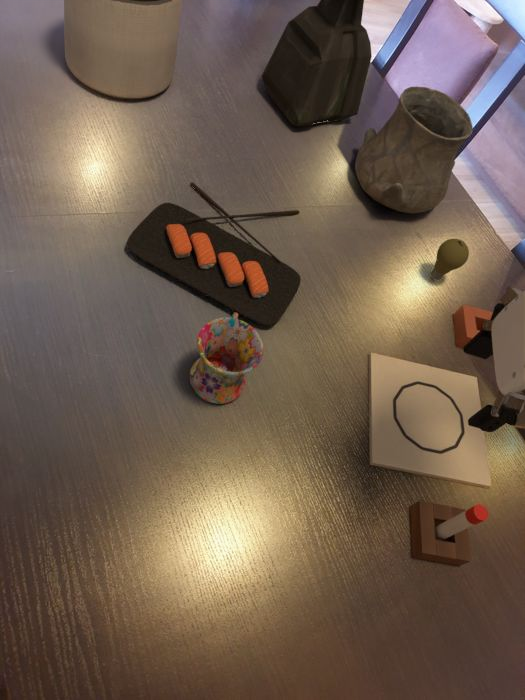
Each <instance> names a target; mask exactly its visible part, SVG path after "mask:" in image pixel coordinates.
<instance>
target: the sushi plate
mask: <svg viewBox="0 0 525 700" xmlns="http://www.w3.org/2000/svg"><path fill="white" fill-rule="evenodd" d="M189 184H191V185H190V187H191V186H193V187H194V188H195V189H194V188H193V187H192V188H193V189H194V190H195V191H196V190H197V191H198V192H197V191H196V192H197V193H198V194H199V193H200V196H201V197H203V198H204V199H205V200H206V201H207V202H208V203H210V205H212V206H213V207H215V209H217V210H218V211H219V212H220V213H221V214H222V215H221V216H206V217H201V216H199V215H198V214H196V213H194V212H193V211H190V210H188V209H186V208H184V207H183V206H180V205H179V204H175V203H173V202H163V203H161V204H159V205H157V206H156V207H155V208H154V209H153V210H152V211H150V213H148V215H147V216H146V217H145V218H144V219H143V220H141V222H140V223H139V224H138V225H137V226H136V227H135V229H134V230H133V231H132V232H131V234H130V235H129V236H128V238H127V241H126V247H127V249H128V250H129V251H130V253H132V254H133V255H134V256H136V257H137V258H139V259H141V260H142V261H144V262H145V263H148V264H149V265H150V266H153V267H154V268H156V269H158V270H159V271H161V272H163V273H165V274H166V275H169V276H170V277H172V278H174V279H175V280H178V281H179V282H181V283H183V284H184V285H186V286H188V287H190V288H192V289H194V290H196V291H197V292H200V293H201V294H203V295H204V296H206V297H208V298H210V299H211V300H214V301H216V302H218V303H219V304H221V305H223V306H225V307H226V308H228V309H229V310H232V311H234V312H235V313H238V315H241V316H243V317H245V318H246V319H249V320H251V321H253V322H255V323H257V324H259V325H262V326H267V327H270V326H273V325H276V324H277V323H278V322H279V321H280V320H281V318H282V317H283V316H284V314H285V313H286V311H287V309H288V308H289V306H290V304H291V303H292V301H293V299H294V298H295V296H296V294H297V292H298V290H299V288H300V285H301V275H300V274H299V272H297V271H296V269H294V268H292V267H291V266H290V265H288V264H286V263H284V262H283V261H281V260H280V259H279V258H278V257H277V256H276V255H275V254H273V253H272V252H271V251H270V250H269V249H268V248H267V247H266V246H264V245H263V244H262V243H261V242H259V240H258V239H257V238H255V237H254V236H253V235H252V234H251V233H250V232H248V231H247V229H245V228H244V226H242V225H241V224H240V223H238V222H237V220H235V219H239V218H255V217H256V218H259V217H260V218H261V217H275V216H279V217H280V216H293V215H299V214H300V211H299V210H298V209H295V210H282V211H281V210H280V211H269V212H268V211H267V212H257V213H248V214H233V215H230V214H229V213H228V212H227V211H225V210H224V209H223V208H222V207H221V206H220V205H219V204H218V203H217V202H215V200H214V199H212V198H211V197H210V196H209V195H208V194H207V193H206V192H205V191H204V190H202V189H201V187H199V186H198V185H197V184H196V183H195V182H193V181H192V182H190V183H189ZM222 219H228V220H230V221H231V222H232V223H233V224H234V225H236V227H238V228H239V229H240V230H241V231H243V232H244V233H245V234H246V235H247V236H248V237H250V239H251V240H253V241H254V242H255V243H256V244H257V245H259V246H260V247H261V248H262V249H263V250H264V251H263V250H262V249H259V248H257V247H256V246H254V245H252V244H250V243H249V242H247V241H245V240H243V239H242V238H239V237H237V236H236V235H234V234H232V233H231V232H228V231H227V230H225V229H223V228H221V227H220V226H218V225H216V224H214V223H212V222H210V221H209V220H222Z"/></svg>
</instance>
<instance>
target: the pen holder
mask: <svg viewBox="0 0 525 700" xmlns="http://www.w3.org/2000/svg"><path fill="white" fill-rule="evenodd" d="M492 314H493V311H489V310H486V309H482V308H480V307H479V308H478V307H474V306H472V305H467V304H462V305H461V306H460V307H459V308H458V309H457V310H456V311H455V312H454V313H453V314H452V320H453V327H454V328H453V329H454V336H455V345H456V348H459V349H463V347H464V346H465V345H466V344H467V343H468V342H469V341H470V340H471V339H472V338H473V337H474V336H475V335H477V334H478V333H479V332H480V331H481V330H483V331H484V329H483V325H484V322H485V321H486V320H490V319H491V316H492ZM491 357H494V356H493V354H492V355H491Z"/></svg>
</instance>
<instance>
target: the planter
mask: <svg viewBox="0 0 525 700" xmlns="http://www.w3.org/2000/svg"><path fill="white" fill-rule="evenodd" d="M183 1H184V0H63V16H64V17H63V19H64V21H63V22H64V23H63V25H64V57H65V62H66V65H67V68H68V69H69V71H70V72H71V74H72V75H73V76H74V77H75V79H77V80H78V81H79V82H81V84H83V85H84V86H85V87H88V88H89V89H91V90H93V91H95V92H97V93H100V94H102V95H105V96H108V97H111V98H115V99H121V100H141V99H148V98H151V97H154V96H156V95H159V94H161V93H163V92H164V91H166V90H167V89H168V87H170V85H171V83H172V81H173V78H174V73H175V68H176V59H177V50H178V41H179V33H180V27H181V26H180V25H181V17H182V10H183V9H182V8H183Z"/></svg>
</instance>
